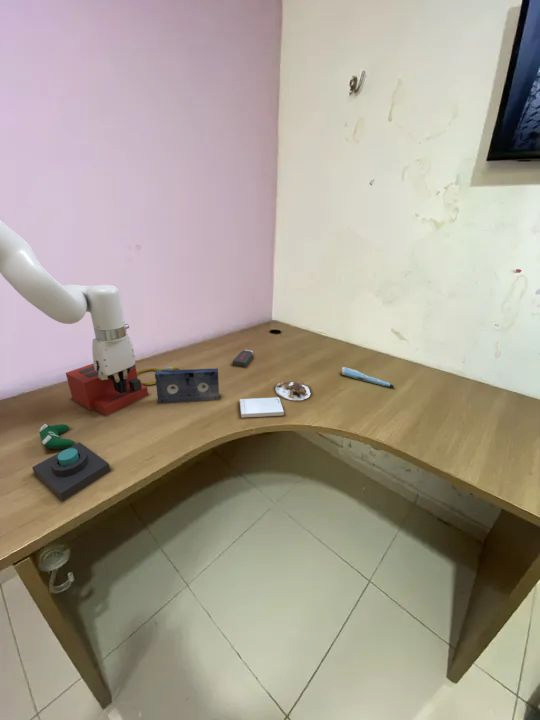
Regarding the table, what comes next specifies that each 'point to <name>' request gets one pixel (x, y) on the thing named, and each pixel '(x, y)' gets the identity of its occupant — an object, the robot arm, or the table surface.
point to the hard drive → (261, 407)
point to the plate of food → (292, 390)
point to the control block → (71, 472)
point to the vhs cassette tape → (187, 385)
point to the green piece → (54, 436)
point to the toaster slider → (135, 384)
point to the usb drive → (243, 358)
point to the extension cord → (156, 370)
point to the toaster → (101, 390)
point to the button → (68, 457)
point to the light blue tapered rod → (363, 377)
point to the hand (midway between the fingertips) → (121, 391)
